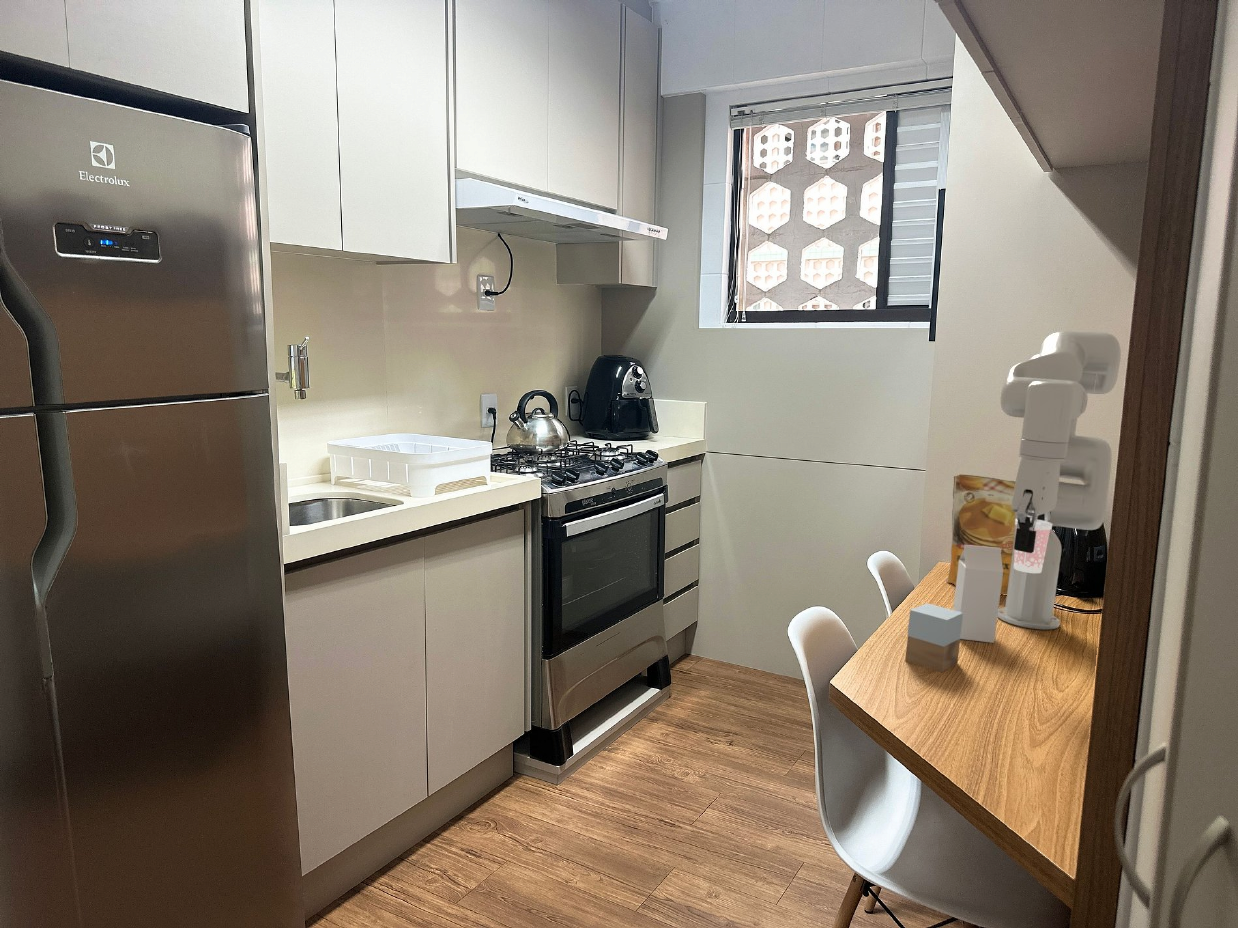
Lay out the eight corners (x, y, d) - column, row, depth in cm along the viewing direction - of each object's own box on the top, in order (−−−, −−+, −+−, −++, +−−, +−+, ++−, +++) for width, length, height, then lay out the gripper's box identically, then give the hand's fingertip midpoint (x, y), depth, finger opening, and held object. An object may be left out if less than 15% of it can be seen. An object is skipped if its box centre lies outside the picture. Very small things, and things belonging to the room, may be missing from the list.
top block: (924, 628, 161) (926, 603, 160) (960, 638, 156) (963, 612, 156) (907, 635, 156) (910, 609, 155) (943, 646, 151) (947, 620, 151)
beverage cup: (1050, 570, 153) (1061, 495, 151) (1039, 576, 148) (1049, 499, 146) (1016, 563, 157) (1025, 490, 155) (1003, 568, 153) (1013, 493, 150)
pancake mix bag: (944, 578, 218) (957, 472, 214) (1024, 593, 208) (1039, 482, 204) (938, 583, 213) (951, 474, 209) (1019, 599, 202) (1034, 485, 198)
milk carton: (994, 643, 169) (1005, 552, 167) (957, 639, 171) (968, 548, 168) (986, 632, 176) (997, 544, 173) (950, 628, 178) (961, 540, 175)
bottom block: (921, 652, 162) (924, 628, 161) (957, 663, 157) (960, 638, 156) (905, 661, 157) (907, 635, 156) (941, 672, 152) (944, 646, 151)
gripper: (1037, 445, 158) (1024, 538, 161) (1003, 450, 146) (991, 551, 148) (1080, 450, 153) (1067, 546, 156) (1049, 456, 141) (1036, 560, 143)
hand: (1030, 547), depth 152 cm, fingers closed on beverage cup, 6 cm apart
